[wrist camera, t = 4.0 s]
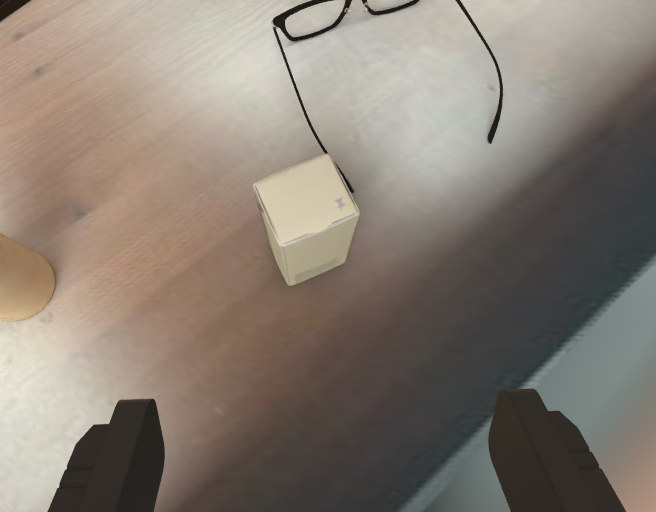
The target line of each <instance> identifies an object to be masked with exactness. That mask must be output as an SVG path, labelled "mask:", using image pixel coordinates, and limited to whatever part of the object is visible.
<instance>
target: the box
mask: <svg viewBox="0 0 656 512" xmlns="http://www.w3.org/2000/svg"><path fill="white" fill-rule="evenodd" d="M253 186H254V191H255V196H256V200H257V204H258V207H259V210H260V214H261V217H262V221H263V225H264V228H265V232H266V236H267V239H268V243H269V245H270V248H271V250H272V252H273V255H274V257H275V260H276V262H277V264H278V266H279V269H280V271H281V273H282V275H283V277H284V279H285V281H286V283H287V284H288V285H289V286H292V285H295V284H297V283H300V282H303V281H305V280H307V279H310V278H312V277H314V276H317V275H319V274H321V273H324V272H326V271H328V270H330V269H332V268H335V267H337V266H339V265H341V264H343V263H345V261H346V258H347V254H348V251H349V248H350V245H351V241H352V238H353V235H354V231H355V228H356V225H357V222H358V219H359V216H360V212H359V209H358V207H357V205H356V203H355V201H354V199H353V197H352V195H351V193H350V191H349V189H348V187H347V185H346V183H345V181H344V179H343V177H342V175H341V174H340V172H339V170H338V168H337V166H336V164H335V163H334V161H333V159H332V157H331V156H330V154H323V155H321V156H318V157H315V158H312V159H310V160H307V161H305V162H302V163H300V164H297V165H295V166H292V167H290V168H287V169H285V170H282V171H280V172H278V173H275V174H273V175H271V176H268V177H266V178H264V179H262V180H260V181H257V182H255V183H254V184H253Z"/></svg>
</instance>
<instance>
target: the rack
mask: <svg viewBox="0 0 656 512" xmlns="http://www.w3.org/2000/svg"><path fill="white" fill-rule="evenodd" d="M29 1H30V0H0V21H1V20H3V19H4V18H6V17H7V16H9V15H10V14H11V13H13V12H14V11H16V10H17V9H19V8H20V7H21V6H23V5H24V4H26V3H27V2H29Z"/></svg>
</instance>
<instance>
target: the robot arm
mask: <svg viewBox="0 0 656 512" xmlns="http://www.w3.org/2000/svg"><path fill="white" fill-rule="evenodd" d="M488 442H489V452H490V457H491V460H492V463H493V466H494V468H495V471H496V473H497V476H498V479H499V482H500V484H501V487H502V489H503V492H504V494H505V497H506V500H507V503H508V505H509V508H510V511H511V512H626V511H625V509H624V507H623V505H622V504H621V502H620V500H619V499H618V497H617V495H616V493H615V492H614V490H613V488H612V487H611V485H610V483H609V481H608V479H607V478H606V476H605V474H604V473H603V471H602V469H600V468H599V464H598V462H597V460H596V459H595V457H594V455H593V453H592V452H590V451H589V447H588V445H587V443H586V442H585V440H584V438H583V436H582V434H581V433H580V431H579V429H578V428H577V427H576V426H575V425H574V424H573V423H572V422H571V421H570V420H569V419H567V418H566V417H565V416H564V415H563V414H562V413H561V412H560V411H547V409H546V407H545V405H544V403H543V401H542V399H541V397H540V396H539V394H538V393H537V391H536V390H535V389H506V390H501V391H500V392H499V394H498V398H497V402H496V406H495V410H494V415H493V419H492V423H491V427H490V431H489V440H488ZM164 457H165V449H164V441H163V436H162V431H161V426H160V421H159V416H158V411H157V406H156V402H155V400H154V399H133V400H119V401H118V403H117V405H116V407H115V410H114V412H113V415H112V418H111V420H110V423H109V424H100V425H93V426H92V427H91V428H90V429H89V430H88V431H87V433H86V434H85V435H84V436H83V437H82V438H81V439H80V440H79V441H78V442H77V444H76V445H75V448H74V450H73V453H72V455H71V457H70V460H69V462H68V465H67V470H65V472H64V474H63V476H62V479H61V481H60V486H59V488H57V491H56V493H55V495H54V498H53V500H52V503H51V505H50V507H49V510H48V512H153V511H154V507H155V503H156V498H157V494H158V490H159V486H160V482H161V477H162V473H163V468H164Z"/></svg>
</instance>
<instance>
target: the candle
mask: <svg viewBox="0 0 656 512" xmlns="http://www.w3.org/2000/svg"><path fill="white" fill-rule="evenodd" d="M54 287H55V276H54V272H53V270H52V268H51V266H50V264H49V263H48V262H47V261H46V260H45V259H44V258H43V257H42V256H41V255H39V254H38V253H36V252H34V251H32V250H30V249H29V248H27V247H25V246H23V245H21V244H19V243H17V242H16V241H14V240H12V239H10V238H8V237H6V236H4V235H3V234H1V233H0V319H2V320H7V321H16V320H23V319H26V318H29V317H31V316H33V315H35V314H37V313H38V312H39V311H41V310H42V309H43V308H44V307H45V306H46V305H47V303H48V302H49V300H50V299H51V296H52V294H53V291H54Z"/></svg>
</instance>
